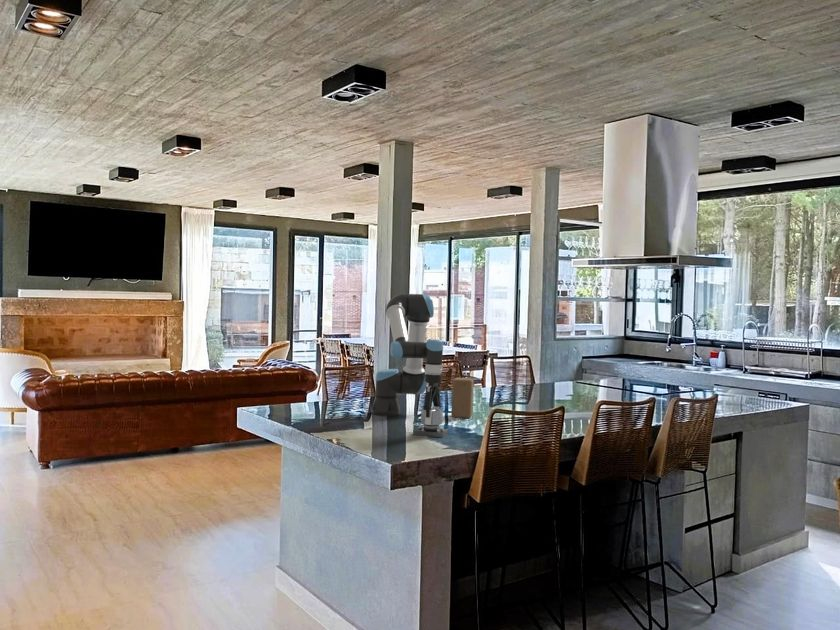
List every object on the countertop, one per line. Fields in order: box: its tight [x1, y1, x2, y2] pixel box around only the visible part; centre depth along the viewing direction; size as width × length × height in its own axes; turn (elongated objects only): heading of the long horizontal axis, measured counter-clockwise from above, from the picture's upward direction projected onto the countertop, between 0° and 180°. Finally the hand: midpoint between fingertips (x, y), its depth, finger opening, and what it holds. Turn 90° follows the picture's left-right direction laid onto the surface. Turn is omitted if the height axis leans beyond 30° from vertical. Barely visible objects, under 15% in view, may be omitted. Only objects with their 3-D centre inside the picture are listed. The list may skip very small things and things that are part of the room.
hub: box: [420, 407, 444, 426], centre depth 321 cm, size 9×9×6 cm
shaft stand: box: [412, 409, 450, 439], centre depth 321 cm, size 14×10×11 cm
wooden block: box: [451, 377, 475, 419], centre depth 373 cm, size 10×10×20 cm
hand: (431, 422), depth 321 cm, fingers open, 10 cm apart
